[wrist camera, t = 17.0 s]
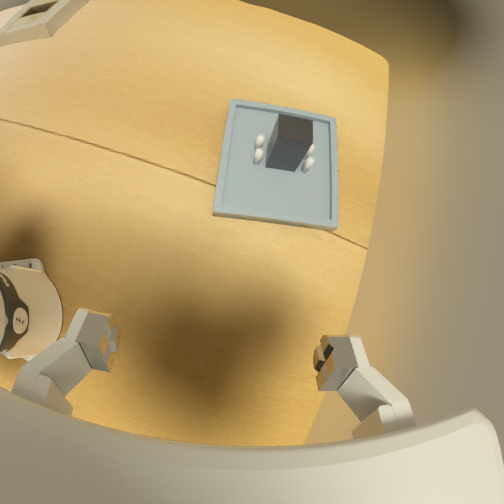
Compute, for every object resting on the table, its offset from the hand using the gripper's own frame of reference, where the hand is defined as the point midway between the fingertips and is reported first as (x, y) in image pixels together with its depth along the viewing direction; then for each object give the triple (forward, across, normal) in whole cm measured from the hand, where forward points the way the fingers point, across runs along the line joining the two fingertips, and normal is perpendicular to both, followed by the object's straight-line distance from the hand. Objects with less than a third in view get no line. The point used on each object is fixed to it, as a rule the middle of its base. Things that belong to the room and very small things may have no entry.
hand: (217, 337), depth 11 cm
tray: (+41, -8, +6) cm, 42 cm away
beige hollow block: (+81, +73, -33) cm, 114 cm away
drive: (+40, -8, +5) cm, 41 cm away
